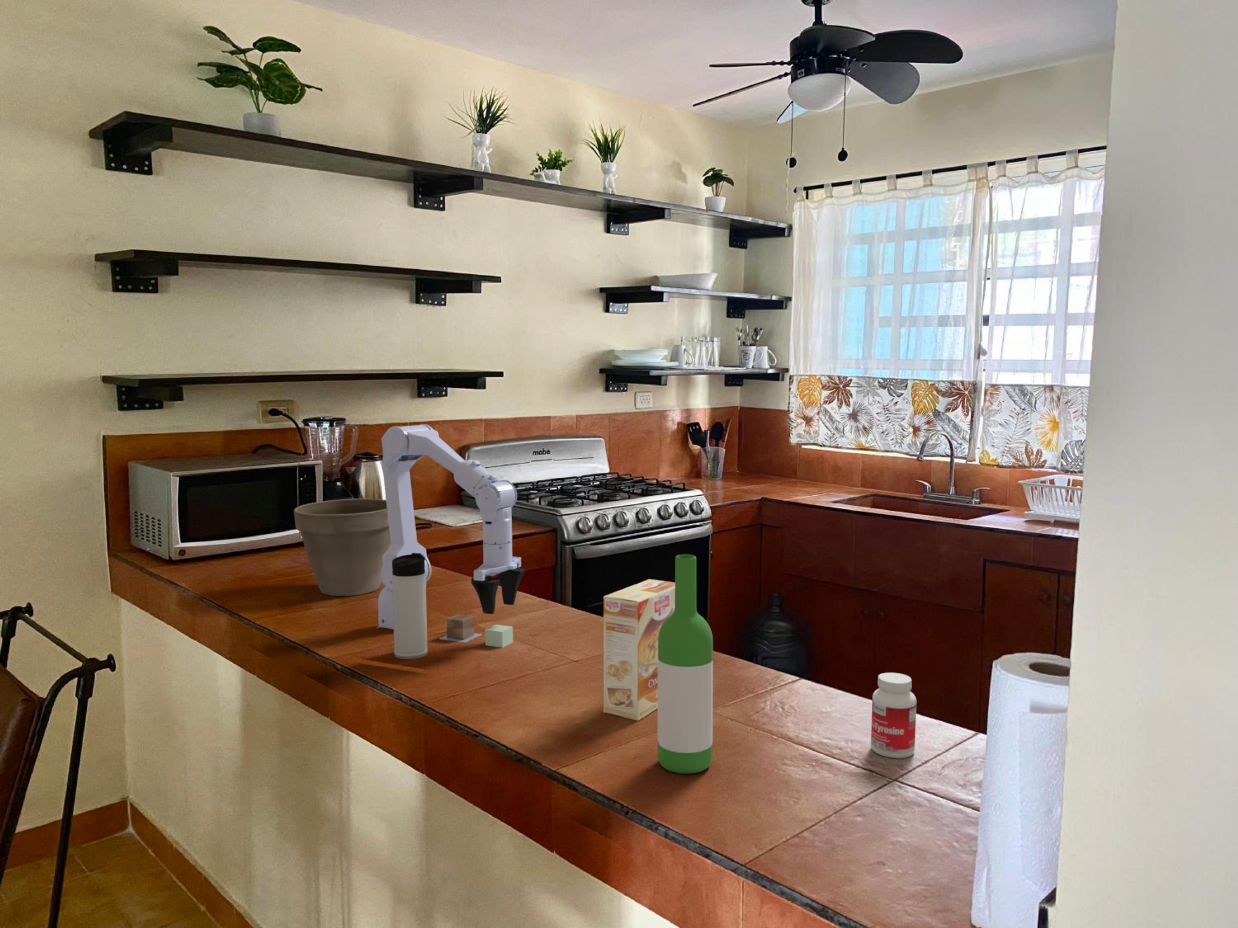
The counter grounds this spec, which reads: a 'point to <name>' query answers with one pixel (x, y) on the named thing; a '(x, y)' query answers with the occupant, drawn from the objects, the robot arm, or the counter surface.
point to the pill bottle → (893, 716)
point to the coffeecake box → (634, 646)
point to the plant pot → (345, 543)
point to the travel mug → (409, 606)
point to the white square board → (461, 640)
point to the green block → (499, 636)
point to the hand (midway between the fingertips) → (498, 608)
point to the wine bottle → (685, 679)
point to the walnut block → (460, 627)
